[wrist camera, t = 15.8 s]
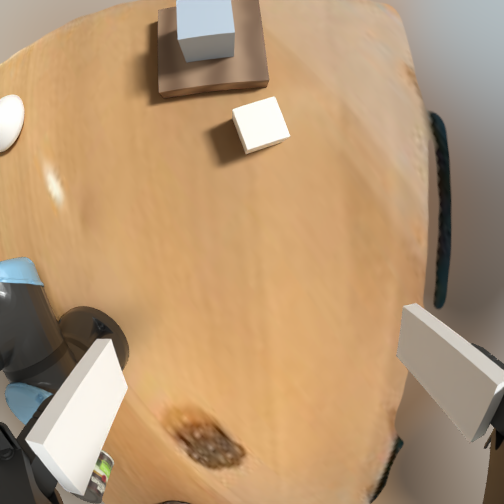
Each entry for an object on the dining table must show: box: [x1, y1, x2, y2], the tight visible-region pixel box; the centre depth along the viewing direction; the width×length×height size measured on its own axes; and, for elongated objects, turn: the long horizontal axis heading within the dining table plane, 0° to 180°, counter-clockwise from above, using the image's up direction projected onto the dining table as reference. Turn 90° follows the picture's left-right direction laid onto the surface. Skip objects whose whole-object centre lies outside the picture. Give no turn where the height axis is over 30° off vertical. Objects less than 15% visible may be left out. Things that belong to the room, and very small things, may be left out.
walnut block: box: [158, 0, 269, 98], centre depth 37 cm, size 16×16×4 cm
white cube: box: [232, 96, 290, 154], centre depth 40 cm, size 6×6×6 cm
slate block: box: [176, 0, 235, 63], centre depth 32 cm, size 7×7×8 cm
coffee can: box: [70, 449, 114, 503], centre depth 50 cm, size 10×10×14 cm
